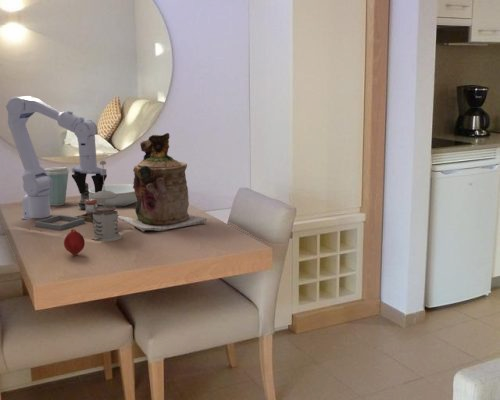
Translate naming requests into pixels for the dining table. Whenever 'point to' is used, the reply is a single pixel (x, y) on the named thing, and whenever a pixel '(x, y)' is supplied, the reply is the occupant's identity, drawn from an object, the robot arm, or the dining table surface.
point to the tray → (47, 222)
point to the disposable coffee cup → (58, 185)
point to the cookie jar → (160, 189)
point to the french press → (105, 216)
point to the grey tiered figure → (84, 197)
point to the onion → (74, 242)
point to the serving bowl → (118, 195)
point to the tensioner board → (87, 219)
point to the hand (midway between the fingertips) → (90, 194)
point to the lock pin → (90, 206)
